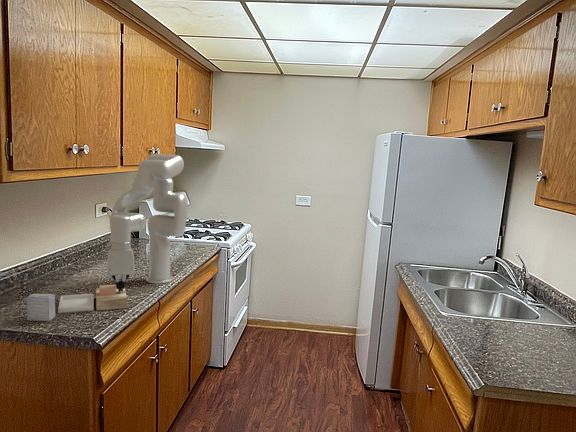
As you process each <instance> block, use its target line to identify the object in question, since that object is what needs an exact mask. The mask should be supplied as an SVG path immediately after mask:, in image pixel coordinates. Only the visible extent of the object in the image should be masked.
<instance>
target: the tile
mask: <svg viewBox="0 0 576 432" xmlns="http://www.w3.org/2000/svg"><path fill="white" fill-rule="evenodd" d="M99 288H100V296H109V295H116V284H107V285H105V284H104V285H99Z"/></svg>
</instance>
